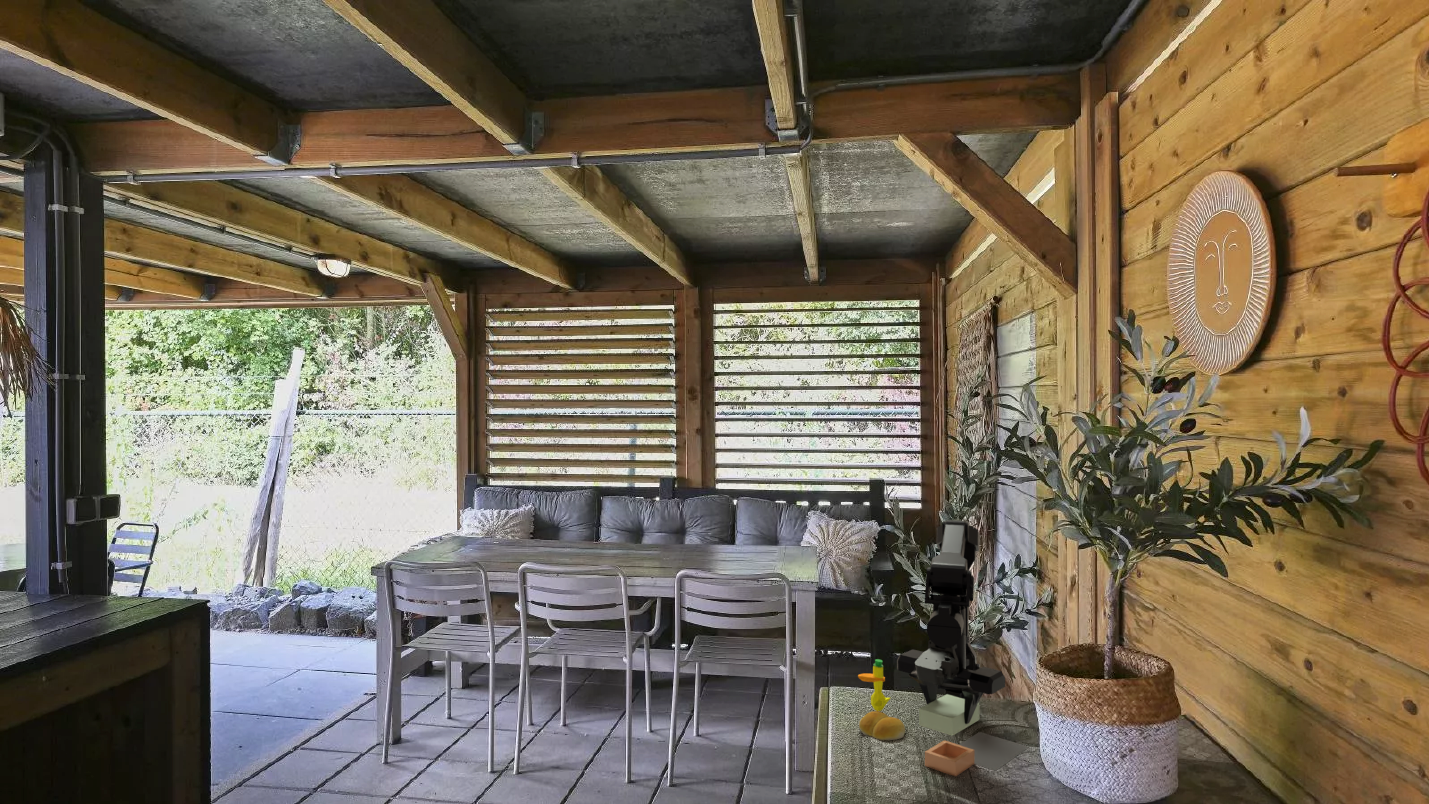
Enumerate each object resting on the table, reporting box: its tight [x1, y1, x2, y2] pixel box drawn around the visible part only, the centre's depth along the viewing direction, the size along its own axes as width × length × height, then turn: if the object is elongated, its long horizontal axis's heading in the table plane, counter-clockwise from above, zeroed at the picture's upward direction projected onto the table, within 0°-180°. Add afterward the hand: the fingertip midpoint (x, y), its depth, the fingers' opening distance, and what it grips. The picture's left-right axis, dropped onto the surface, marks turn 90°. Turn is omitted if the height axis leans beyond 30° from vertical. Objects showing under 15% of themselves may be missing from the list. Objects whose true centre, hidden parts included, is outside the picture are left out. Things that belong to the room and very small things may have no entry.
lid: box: [918, 694, 980, 737], centre depth 144 cm, size 10×6×3 cm, turn 135°
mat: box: [958, 731, 1030, 772], centre depth 149 cm, size 14×10×1 cm
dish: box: [924, 739, 975, 777], centre depth 143 cm, size 7×6×3 cm
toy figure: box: [857, 658, 891, 712], centre depth 167 cm, size 7×4×12 cm, turn 76°
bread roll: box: [858, 710, 906, 741], centre depth 159 cm, size 8×9×4 cm
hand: (949, 718), depth 144 cm, fingers closed on lid, 6 cm apart
